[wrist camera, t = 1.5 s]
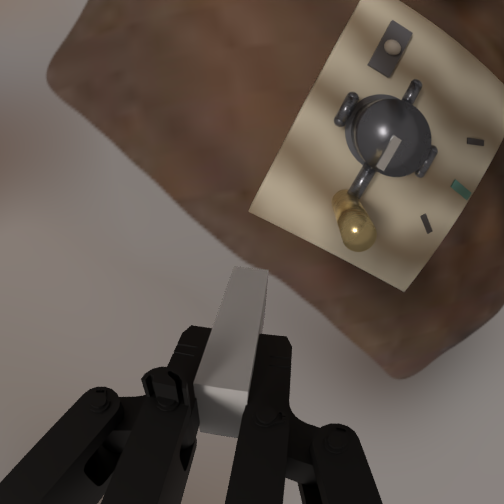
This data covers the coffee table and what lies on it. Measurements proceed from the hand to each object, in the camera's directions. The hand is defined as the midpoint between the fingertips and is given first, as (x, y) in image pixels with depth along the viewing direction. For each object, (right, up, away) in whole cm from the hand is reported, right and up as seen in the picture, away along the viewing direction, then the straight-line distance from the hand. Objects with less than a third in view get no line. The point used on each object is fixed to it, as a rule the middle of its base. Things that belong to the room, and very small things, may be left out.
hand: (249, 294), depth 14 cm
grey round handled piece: (+11, +11, +10) cm, 18 cm away
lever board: (+13, +12, +11) cm, 21 cm away
